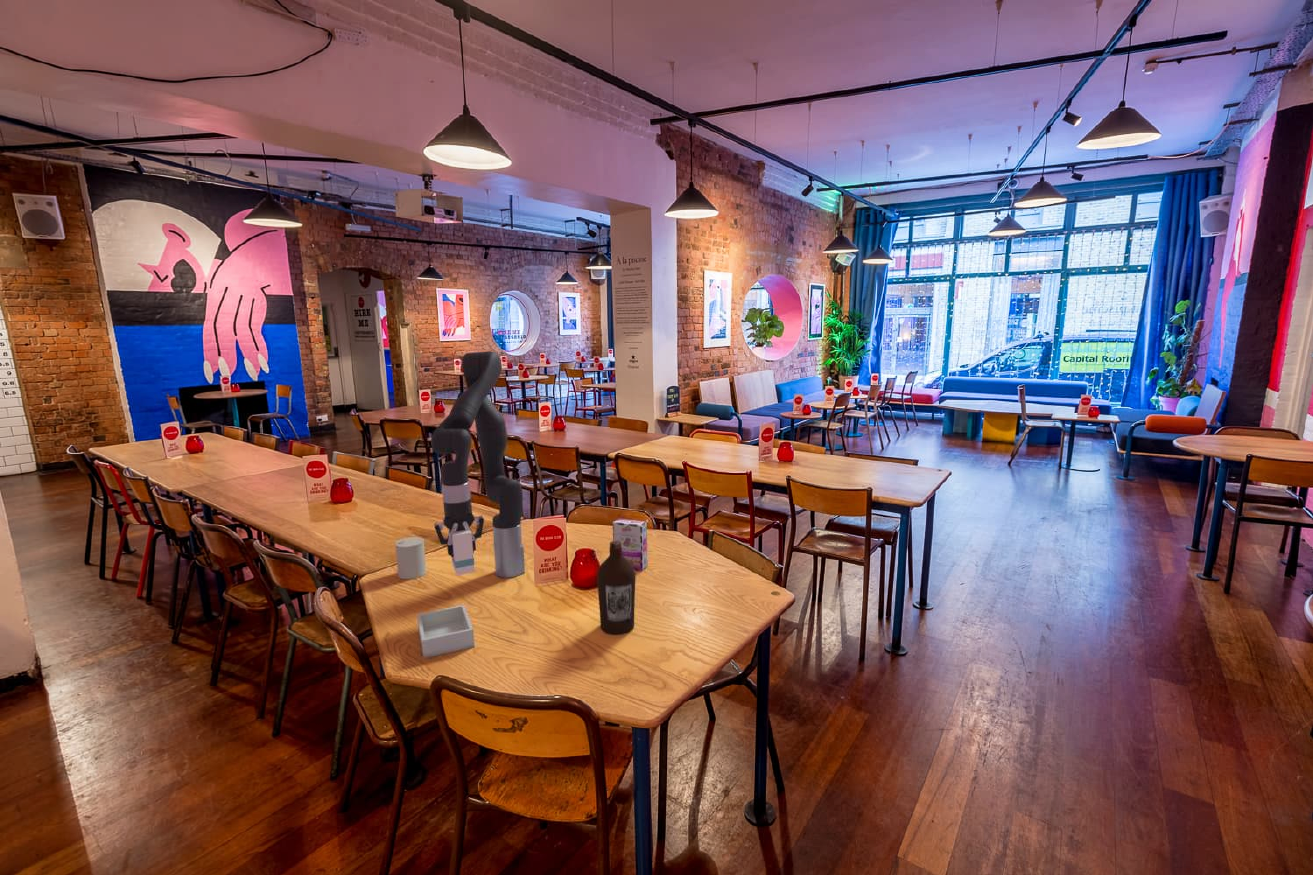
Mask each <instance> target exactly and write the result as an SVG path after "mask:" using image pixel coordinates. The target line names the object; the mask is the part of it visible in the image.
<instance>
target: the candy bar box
mask: <svg viewBox="0 0 1313 875" xmlns="http://www.w3.org/2000/svg"><path fill="white" fill-rule="evenodd" d="M647 524H648V523H647V521H643V520H634V519H626V518H617V519H616V520H615V521H612V541H620V542H621V546H622V556H623V557H624V558H626V559H627V560H628V561H629V562H630V563H631V564H632V566H633V568H634V570H635V571H641V572H643V571H644V570H645V569H646V568H647V567H648V565H649V564H648V525H647Z"/></svg>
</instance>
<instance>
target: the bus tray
mask: <svg viewBox="0 0 1313 875" xmlns="http://www.w3.org/2000/svg"><path fill="white" fill-rule="evenodd" d="M416 617H417V628H418V634H419V641H420V646H421V651H422V657H423V660H424V659H429V658H432V657H436V656H441V655H445V654H450V653H454V652H458V651H463V650H467V649H473V648H475V638H474V637H475V636H474V635H475V634H474V628H473V625H472V622H471V620H470V616H469V613H468V610H467V608H466V606H465V604H461V605H457V606H456V605H455V606H451V607H447V608H442V609H441V608H440V609H436V610H431V611H427V612H426V611H425V612H420V613H417V614H416Z"/></svg>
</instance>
